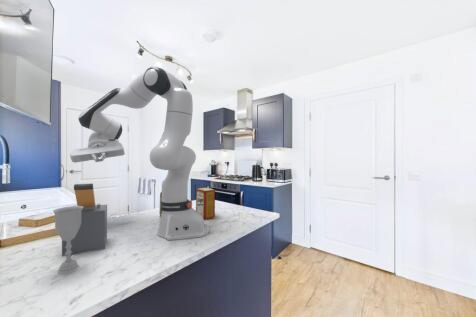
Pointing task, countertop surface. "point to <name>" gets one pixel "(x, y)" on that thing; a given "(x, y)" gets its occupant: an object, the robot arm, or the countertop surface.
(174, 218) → the robot arm
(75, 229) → the chalice
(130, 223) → the countertop surface
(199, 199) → the baking soda box
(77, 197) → the lever
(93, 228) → the box
